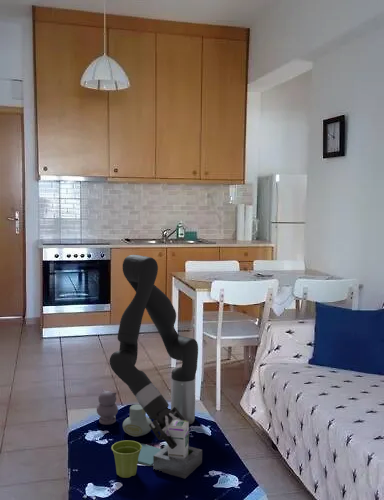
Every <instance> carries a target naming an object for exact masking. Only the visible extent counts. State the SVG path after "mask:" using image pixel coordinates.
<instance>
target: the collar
mask: <svg viewBox="0 0 384 500" xmlns="http://www.w3.org/2000/svg"><path fill="white" fill-rule="evenodd" d="M161 449H162V450H160V451H159V452H158V453H157V454H155V455H154V456H153V465H152V468H153V469H152V470H154V469H155V470H154V471H157V470H159V471H158V472H160V471H162V472H161V473H164V474H168V475H170V476H175V477H177V478H182V479H185V480H186V478H187V477H189V476H190V475H191V474H192V473H193V472H195V470H196V469H197V468H198V467H200V466H201V465H202V464H203V449H200V448H197V447H193V446H190V445H189V456H188V457H186V458H185V459H184V460H179V459H175V458H172V457H168V444H166V445H165V446H164V447H163V448H161Z"/></svg>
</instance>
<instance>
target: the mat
mask: <svg viewBox="0 0 384 500" xmlns="http://www.w3.org/2000/svg"><path fill="white" fill-rule="evenodd" d="M140 444H141V445H142V449H141V450H140V453H139V458H138V463H139V464H142V465H146V466H148V467H153V456H154V455H155V454H157V453H158V452H159V451H160V450H162V449H163V448H159V447H157V446H156V447H155V446H152V445H148V444H145V443H140Z"/></svg>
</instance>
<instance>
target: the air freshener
mask: <svg viewBox="0 0 384 500" xmlns="http://www.w3.org/2000/svg"><path fill="white" fill-rule="evenodd" d="M152 422H153V421H152V419H150V418H149V417H148V416H147V414H146V412H145V411H144V410H143V408H142V407H141V405H140V404H139V403H137V404H136V403H135V404H132V405H131V406H130V407H129V417H127V418H125V419H124V420H123V422H122V429H123V431H124V433H126V434H128V436H132V437H135V438H136V437H142V436H145V435H147V434H148V433H150V432H151V430H152V429H151V428H150V426H149V424H150V423H152Z"/></svg>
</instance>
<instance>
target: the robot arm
mask: <svg viewBox="0 0 384 500" xmlns="http://www.w3.org/2000/svg"><path fill="white" fill-rule="evenodd" d="M158 270H159V266H158V263H157V260H155V258H154V257H150V256H145V255H139V254H130V255H127V256H126V257H125V258H124V259H123V261H122V273H123V276H124V278H125V280H127V281H128V283H129V285H130V286H131V287H132V288H133V290H134V292H135V294H134V296H133V299H132V300H131V302H130V303H129V304H128V306H127V307H126V308H125V310H124V311H123V313H122V316H121V318H120V321H119V327H118V330H117V331H118V332H117V341H118V342H119V350H118V351H117V350H116V351H115V352H113V353H112V354H111V355H110V357H109V366H110V369H111V370H112V371H113V372H114V374H115V376H117V377H118V378H119V379H120V380H121V381H122V382H123V383H124V384H126V386H127V387H128V388H129V390H130V391H131V393H132V394H133V396H134V397H135V398H136V401H137V403H138V404H140V405H141V407H142V408H143V410H144V411H145V412H146V416H147V417H148V418H149V419H150V420H153V421H152V423H150V424H149V426H150V428H151V430H152V432H153V434H154V435H155V437H156V438H157V439H158V441H161V440H163V441H165V443H166V445H169V447H170V448H171V449H174V448H175V447H176V446H177V444H176V442H175V441H174V440H173V438H172V437H171V435H170V436H169V430H168V426H169V424H170V423H171V422H172V420H186V421H189V425H192V424H193V423H195V419H196V373H197V371H198V370H197V369H198V359H199V344H198V340H196V339H195V338H192V337H187V336H182V335H179V333H178V332H177V330H176V328H175V324H176V321H177V313H176V308H175V307H174V305H173V302H171V300H170V298H169V297H168V296H167V294H165V293H164V291H162V290H161V289H160V288H159V287H158V286H156V285H155V282H156V280H157V277H158V272H159V271H158ZM145 310H146V312H147V314H148V316H149V317H150V319H151V321H152V323H153V324H154V326H155V328H156V329H157V332H158V334H159V336H160V337H161V340H162V343H163V344H164V345H163V346H164V347H165V350H166V353H167V354H168V356H169V357H170V358H172V359H174V360H176V361H180V362H181V366H179V367H176V368H174V369H173V370H171V383H170V384H171V387H170V388H171V391H170V392H171V393H170V394H171V395H170V409H169V403H168V401H167V400H166V399H165V397H164V395H162V393H161V392H160V391H159V389H158V388H157V386H155V384H153V382H152V381H151V378H149V377H148V375H147V374H146V373H145V372H144V371H143V370H140V369H139V368H137V367H136V366H135V365H136V363H137V359H138V353H139V350H138V349H139V346H138V339H139V336H140V331H141V325H142V321H143V317H144V313H145ZM190 435H191V434H190V433H189V437H190Z"/></svg>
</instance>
